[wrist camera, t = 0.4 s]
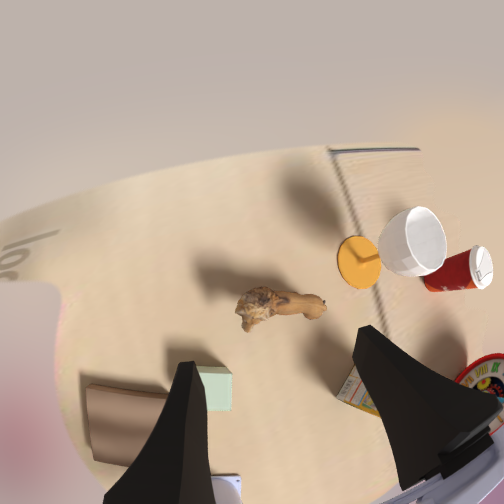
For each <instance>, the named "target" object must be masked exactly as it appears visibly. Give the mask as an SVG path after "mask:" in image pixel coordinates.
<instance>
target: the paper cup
mask: <svg viewBox="0 0 504 504" xmlns="http://www.w3.org/2000/svg"><path fill="white" fill-rule="evenodd" d="M492 277H493V265H492V260H491V257H490V255H489V252H488V251H487V250H486V248H484V247H482V246H477V245H476V246H474V247H473V248H472V249H470V250H468V251H465V252H462V253H460V254H457V255H455V256H452V257H449V258H447V259H445V260H444V262H443V265H442V266H441V267H440V268H439V269H437V270H436V271H434V272H432V273H430V274H428V275H424V282H425V285H426V287H427V289H428V290H429V291H431V292H441V291H452V290H462V289H471V288H479V289H484V288H485V287H486V286H487V285H489V284H490V282H491V280H492Z"/></svg>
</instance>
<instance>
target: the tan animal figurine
mask: <svg viewBox="0 0 504 504" xmlns="http://www.w3.org/2000/svg"><path fill="white" fill-rule="evenodd" d="M237 304H238V305H237V308H236V309H235V313H237V314H238V315H240V316H242V320H243V322H242V325H241V326H242V328H243V329H244V331H245V332H247V333H249V332H251V330H252V329H253V327H254V325H255V324H258V323H259V322H260V321H263V320H264V321H265V320H266V319H268V318H269V317H272V316H274V315H276V314H279V315H291V314H298V313H303V314H304V316H305V317H306V318H308V319H310V320H311V319H317V318H319V317H320V316H321V315H322V313H323V311H326V310H327V307H326V305H324V304H325V300H324V301H322V299H321V298H320V297H318V296H316V295H313V294H305V295H300V294H298V293H297V292H293V293H291V292H285V291H273V290H271V289H269V288H267V287H259V288H254V289H253V290H250V291H249V292H246V293H245V294H244V295H243V296H242V298H241V299H240V300H239V301H238V303H237Z"/></svg>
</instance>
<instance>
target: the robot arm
mask: <svg viewBox="0 0 504 504" xmlns="http://www.w3.org/2000/svg"><path fill="white" fill-rule="evenodd" d="M352 358H353V361H354V363H355V366H356V369H357V371H358V374H359V376H360V378H361V380H362V382H363V384H364V386H365V388H366V390H367V392H368V393H369V395H370V397H371V399H372V401H373V403H374V405H375V407H376V409H377V410H378V412H379V415H380V417H381V419H382V422H383V424H384V427H385V430H386V433H387V436H388V439H389V442H390V445H391V448H392V452H393V456H394V459H395V463H396V468H397V473H398V478H399V483H400V487H401V489H402V491H404V490H406V489H408V488H410V487H412V486H414V485H416V484H418V483H419V482H421V481H423V480H425V482H424V483H422V484H420V485H418V486H416V487H414V488H413V489H411V490H409V491H407V492H405V493H403V494H401V495H399V496H396V497H395V498H392V499H390V500H388V501H386V502H383V503H381V504H409V503H410V502H412V501H414V500H416V499H417V501H416V504H478V503H479V502H480V501H482V500H483V498H485V496H487V495H488V494H489V493H490V492H491V491H492V490H493V489H494V488H495V487H496V486H497V484H499V483H500V482H501V481H502V480H503V478H504V425H502V426H501V427H500V428H499V429H498V430H497V431H496V432H494V433H493V434H492V435H491V436H490V434H489V433H488V432H490V431H491V428H490V427H489V424H490V423H491V422H492V421H493V420H494V419H495V418H496V417H497V416H498V415H499V414H500V413H501V412H502V410H503V408H504V407H503V405H502V404H501V402H500V401H499V399H498V398H497V396H496V395H495V394H491V393H487V392H482V391H479V390H475V389H472V388H469V387H466V386H464V385H461V384H459V383H456V382H454V381H452V380H450V379H447V378H445V377H443V376H441V375H440V374H438V373H436V372H434V371H432V370H431V369H429V368H427V367H426V366H424V365H423V364H421V363H420V362H418V361H417V360H415V359H414V358H412V357H411V356H409V355H408V354H407V353H406V352H404V351H403V350H402V349H400V348H399V347H398V346H396V345H395V344H394V343H393V342H391V341H390V340H389V339H388V338H386V337H385V336H384V335H383V334H381V333H380V332H379V331H378V330H376V329H375V328H374V327H373V326H371V325H368V326H364V327H361V328H359V329H358V334H357V338H356V343H355V348H354V352H353V356H352ZM237 480H239V481H237ZM103 504H243V503H242V500H241V476H239V475H234V476H211V474H210V467H209V460H208V435H207V402H206V394H205V387H204V385H203V382H202V380H201V377H200V375H199V372H198V370H197V367H196V365H195V362H194V361H189V362H180V363H179V364H178V367H177V371H176V374H175V377H174V380H173V383H172V386H171V389H170V392H169V394H168V397H167V399H166V402H165V404H164V407H163V409H162V411H161V414H160V416H159V418H158V420H157V422H156V424H155V426H154V428H153V430H152V432H151V434H150V436H149V438H148V439H147V441H146V443H145V445H144V446H143V448H142V449H141V451H140V452H139V454H138V456H137V457H136V458H135V460H134V461H133V463H132V464H131V465H130V466H129V468H128V469H127V470H126V472H125V473H124V474H123V475H122V477H121V478H120V479H119V480H118V481H117V482H116V483H115V484H114V485H113V486H112V488H111V489H110V490H109V491H108V492H107V493H106V494H105V495H104V500H103Z"/></svg>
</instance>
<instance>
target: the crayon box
mask: <svg viewBox="0 0 504 504" xmlns="http://www.w3.org/2000/svg"><path fill="white" fill-rule="evenodd" d="M336 398H337V399H339V400H341V401H342V402H344V403H347V404H349V405H351V406H353V407H356V408H358V409H360V410H363V411H365V412H368V413H370V414H372V415H375V416H377V417H380V415H379V412H378V410H377V409H376V407H375V405H374V403H373V401H372V399H371V397H370V395H369V393H368V392H367V390H366V388H365V386H364V384H363V382H362V380H361V378H360V376H359V374H358V371H357V369H356V366H354V367H353V369H352V371H351V373H350V375H349V376H348V378H347V380H346V381H345V383H344V385H343V387H342V388H341V390H340V392H339V394H338V395H337V397H336ZM380 418H381V417H380Z"/></svg>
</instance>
